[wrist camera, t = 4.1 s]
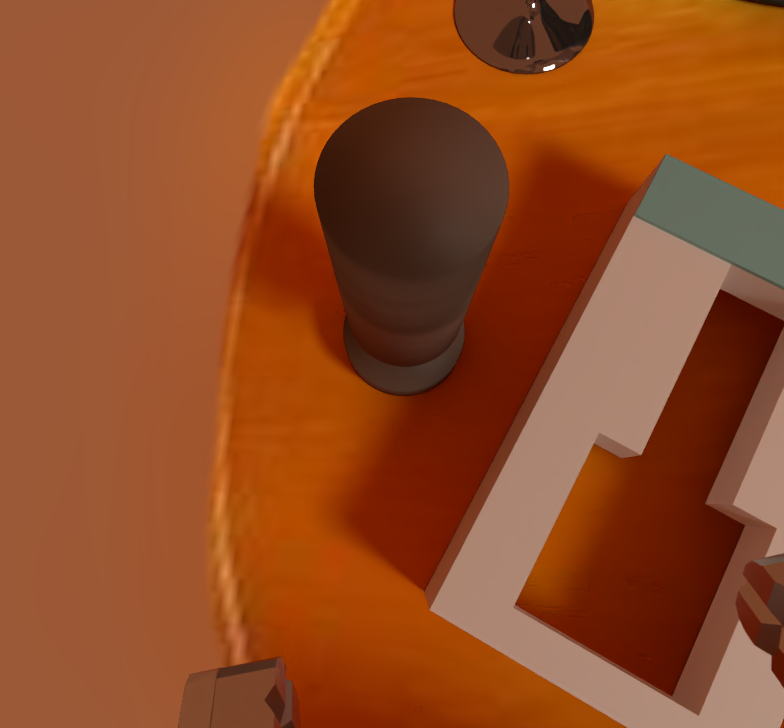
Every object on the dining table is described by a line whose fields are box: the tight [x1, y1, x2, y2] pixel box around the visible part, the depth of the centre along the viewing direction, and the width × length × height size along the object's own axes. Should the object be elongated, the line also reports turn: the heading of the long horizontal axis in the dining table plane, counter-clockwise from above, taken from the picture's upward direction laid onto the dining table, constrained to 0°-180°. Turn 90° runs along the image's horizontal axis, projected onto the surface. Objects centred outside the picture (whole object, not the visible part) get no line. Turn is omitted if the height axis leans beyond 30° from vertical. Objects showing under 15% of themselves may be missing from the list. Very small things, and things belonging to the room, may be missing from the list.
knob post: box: [314, 97, 509, 396], centre depth 20 cm, size 5×5×14 cm
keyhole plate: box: [425, 154, 784, 728], centre depth 24 cm, size 20×12×4 cm, turn 151°
